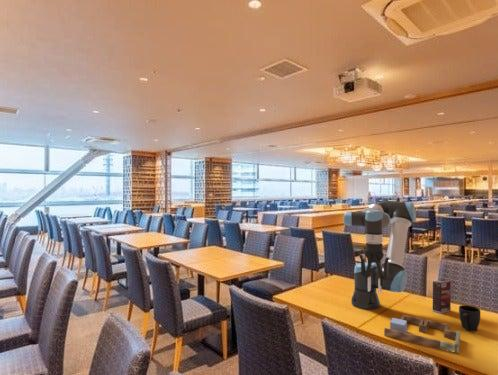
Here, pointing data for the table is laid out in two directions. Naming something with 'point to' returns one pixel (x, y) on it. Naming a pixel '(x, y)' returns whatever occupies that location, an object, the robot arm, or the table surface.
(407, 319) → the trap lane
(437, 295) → the supplement box
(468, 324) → the mug
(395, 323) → the block
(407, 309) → the table surface
